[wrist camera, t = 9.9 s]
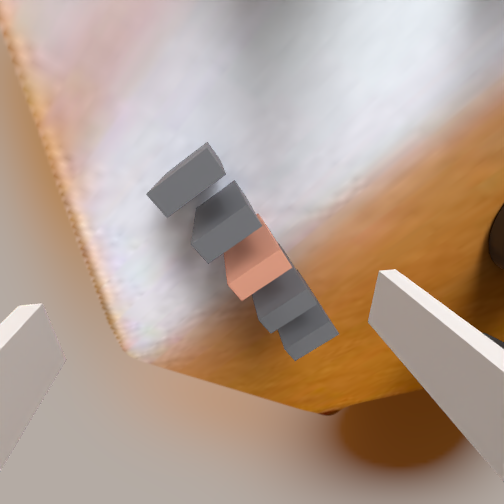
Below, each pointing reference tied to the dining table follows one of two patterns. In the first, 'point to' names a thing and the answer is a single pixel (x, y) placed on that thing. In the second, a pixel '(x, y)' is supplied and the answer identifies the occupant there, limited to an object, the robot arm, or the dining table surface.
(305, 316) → the domino
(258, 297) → the domino
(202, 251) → the domino
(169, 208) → the domino
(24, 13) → the dining table surface
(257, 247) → the domino
